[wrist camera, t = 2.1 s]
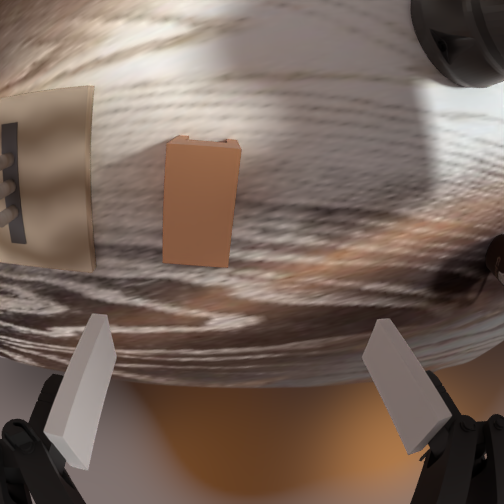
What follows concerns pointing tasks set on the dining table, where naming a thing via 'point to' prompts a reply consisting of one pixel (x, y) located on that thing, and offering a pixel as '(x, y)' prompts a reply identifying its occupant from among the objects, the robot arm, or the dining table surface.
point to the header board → (47, 179)
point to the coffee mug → (496, 258)
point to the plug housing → (199, 201)
